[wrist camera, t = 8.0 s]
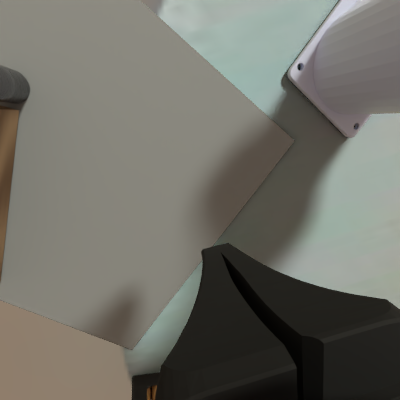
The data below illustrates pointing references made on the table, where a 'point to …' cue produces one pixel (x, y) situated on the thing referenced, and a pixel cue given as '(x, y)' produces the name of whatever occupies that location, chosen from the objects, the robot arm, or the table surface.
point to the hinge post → (13, 86)
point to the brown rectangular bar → (6, 167)
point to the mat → (119, 163)
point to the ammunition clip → (144, 386)
